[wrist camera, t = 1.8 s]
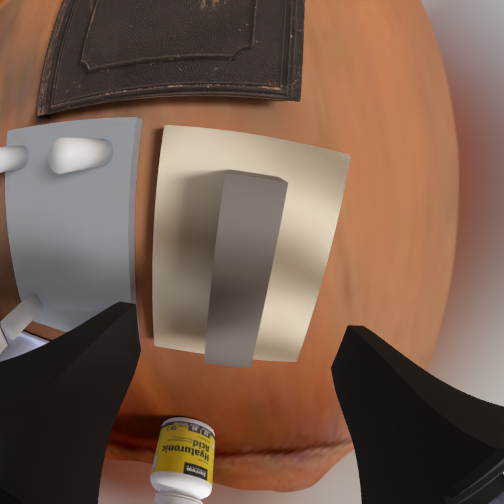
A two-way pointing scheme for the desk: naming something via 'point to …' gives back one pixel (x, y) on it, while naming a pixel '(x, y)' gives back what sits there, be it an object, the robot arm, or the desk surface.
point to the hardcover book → (172, 51)
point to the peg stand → (71, 219)
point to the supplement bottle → (183, 462)
